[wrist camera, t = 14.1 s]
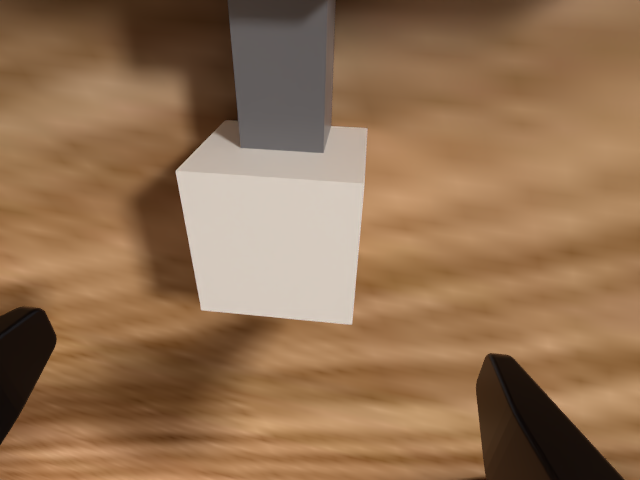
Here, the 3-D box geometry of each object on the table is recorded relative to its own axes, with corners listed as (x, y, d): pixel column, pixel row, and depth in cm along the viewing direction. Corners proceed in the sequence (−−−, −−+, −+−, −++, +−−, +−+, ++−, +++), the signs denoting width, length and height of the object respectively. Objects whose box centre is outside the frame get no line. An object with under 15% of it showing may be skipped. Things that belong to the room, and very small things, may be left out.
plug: (193, -175, 8) (97, -251, 5) (393, -176, 8) (403, -256, 5) (238, 238, 14) (201, 310, 11) (357, 247, 14) (351, 324, 11)
